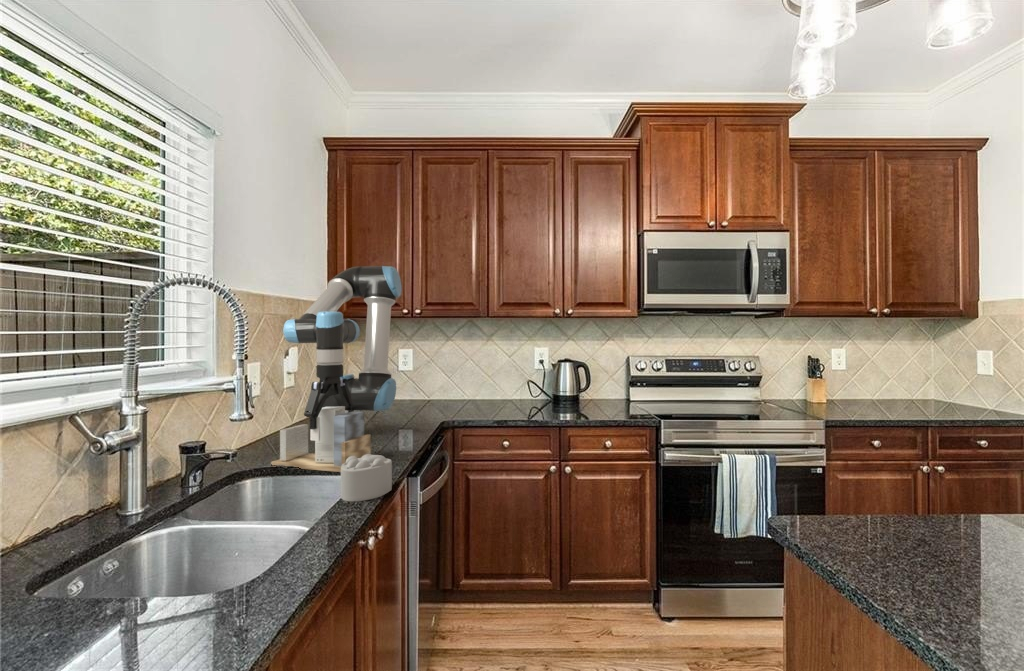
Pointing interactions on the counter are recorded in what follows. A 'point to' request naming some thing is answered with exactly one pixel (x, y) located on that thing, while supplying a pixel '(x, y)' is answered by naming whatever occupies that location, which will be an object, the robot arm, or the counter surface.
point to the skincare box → (327, 434)
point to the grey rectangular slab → (293, 442)
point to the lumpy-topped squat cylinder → (365, 477)
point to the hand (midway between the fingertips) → (330, 435)
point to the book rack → (338, 444)
